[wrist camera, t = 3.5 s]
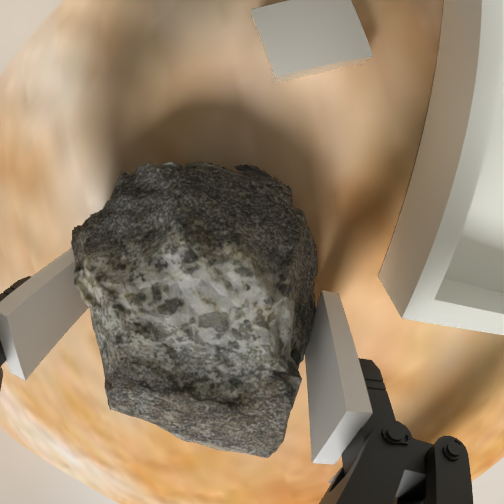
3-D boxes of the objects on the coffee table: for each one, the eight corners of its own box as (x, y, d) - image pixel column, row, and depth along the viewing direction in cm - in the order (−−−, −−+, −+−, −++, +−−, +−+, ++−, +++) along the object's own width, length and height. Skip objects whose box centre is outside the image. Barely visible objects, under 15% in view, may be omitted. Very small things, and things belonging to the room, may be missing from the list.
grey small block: (275, 85, 12) (275, 77, 10) (254, 25, 11) (250, 10, 9) (359, 65, 11) (373, 56, 9) (337, 7, 10) (346, -10, 8)
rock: (94, 183, 13) (-5, 229, 7) (283, 121, 12) (295, 115, 6) (193, 400, 18) (169, 491, 12) (338, 378, 17) (357, 477, 10)
